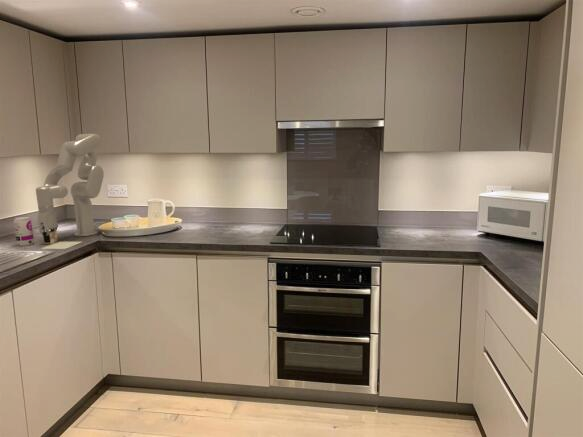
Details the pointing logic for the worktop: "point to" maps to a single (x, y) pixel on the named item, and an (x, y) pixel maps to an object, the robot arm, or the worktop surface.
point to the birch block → (52, 237)
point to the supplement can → (23, 231)
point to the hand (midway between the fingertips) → (50, 240)
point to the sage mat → (61, 245)
